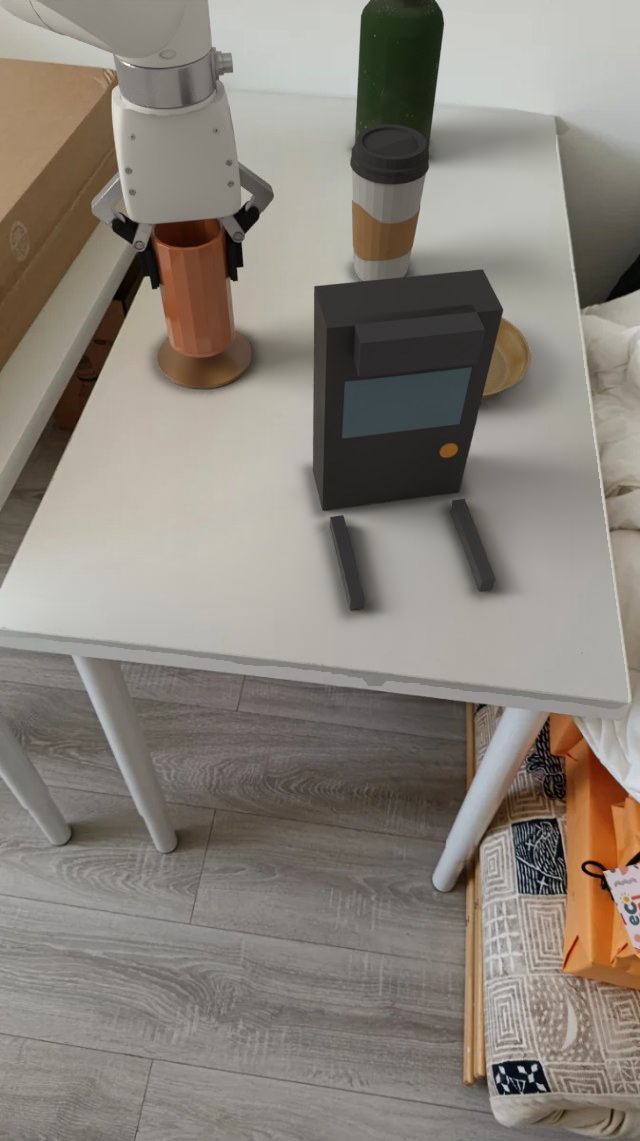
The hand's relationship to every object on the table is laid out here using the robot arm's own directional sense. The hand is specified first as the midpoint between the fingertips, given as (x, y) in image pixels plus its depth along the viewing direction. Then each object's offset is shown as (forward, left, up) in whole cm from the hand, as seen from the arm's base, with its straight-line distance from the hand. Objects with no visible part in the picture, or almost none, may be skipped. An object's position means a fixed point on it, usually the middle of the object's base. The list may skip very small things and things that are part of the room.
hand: (193, 275), depth 75 cm
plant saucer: (+26, -6, -10) cm, 29 cm away
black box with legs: (+15, -26, -10) cm, 32 cm away
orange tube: (0, 0, -7) cm, 7 cm away
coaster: (0, 0, -10) cm, 10 cm away
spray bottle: (+30, +40, -10) cm, 51 cm away
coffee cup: (+22, +12, -10) cm, 27 cm away
